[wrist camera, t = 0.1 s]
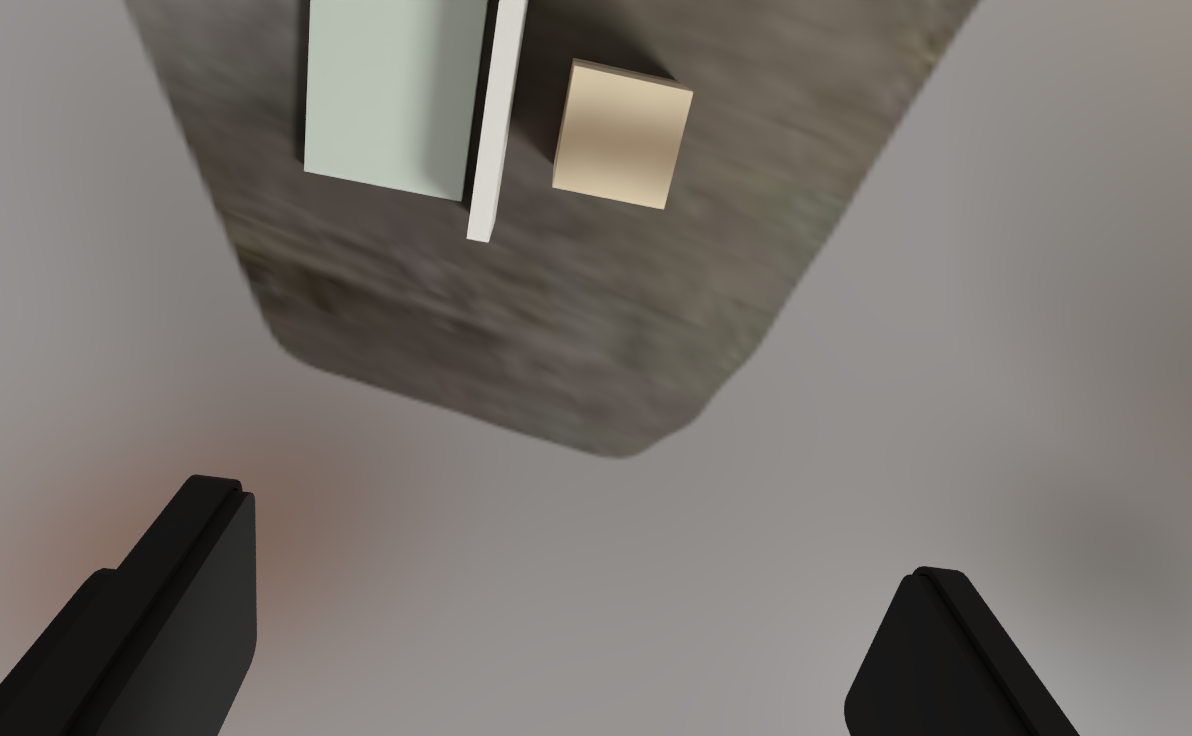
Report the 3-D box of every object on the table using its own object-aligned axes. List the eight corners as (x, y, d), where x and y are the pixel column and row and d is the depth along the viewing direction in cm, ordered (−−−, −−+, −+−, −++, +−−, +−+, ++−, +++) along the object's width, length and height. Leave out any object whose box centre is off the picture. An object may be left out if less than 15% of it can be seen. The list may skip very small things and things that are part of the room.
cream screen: (511, -40, 39) (505, -45, 35) (533, -35, 39) (530, -39, 35) (475, 217, 45) (466, 238, 41) (494, 220, 45) (488, 242, 41)
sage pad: (317, -64, 38) (312, -65, 37) (491, -23, 39) (490, -24, 39) (308, 168, 43) (304, 171, 43) (462, 198, 44) (461, 201, 44)
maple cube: (573, 57, 41) (574, 65, 36) (679, 81, 42) (696, 92, 37) (553, 164, 44) (552, 187, 38) (653, 185, 45) (666, 210, 39)
